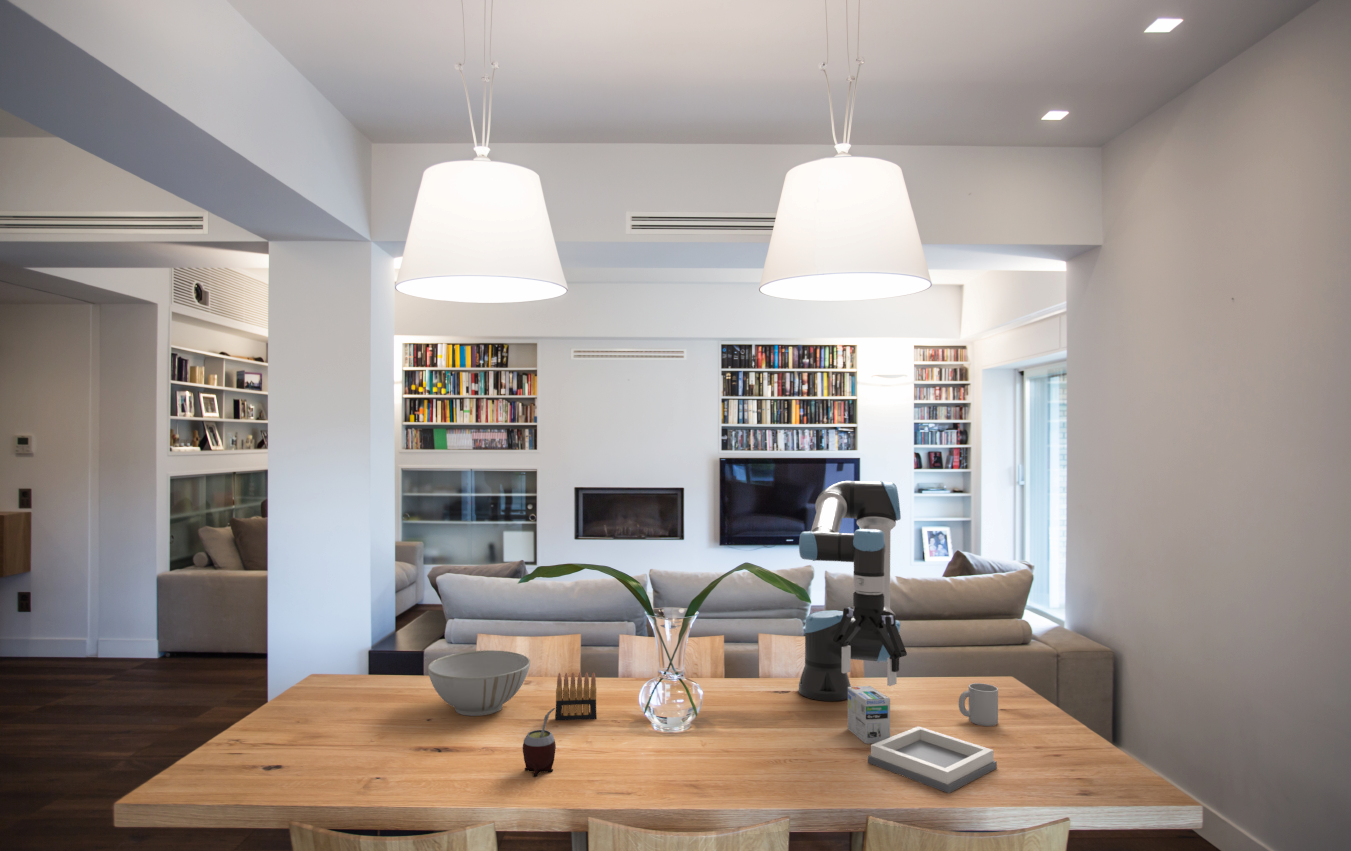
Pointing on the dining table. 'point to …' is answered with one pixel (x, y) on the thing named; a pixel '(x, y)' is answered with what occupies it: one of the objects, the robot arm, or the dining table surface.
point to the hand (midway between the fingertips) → (868, 678)
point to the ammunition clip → (576, 699)
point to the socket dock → (933, 758)
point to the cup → (980, 704)
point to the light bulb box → (868, 714)
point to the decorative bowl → (478, 679)
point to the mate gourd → (539, 750)
